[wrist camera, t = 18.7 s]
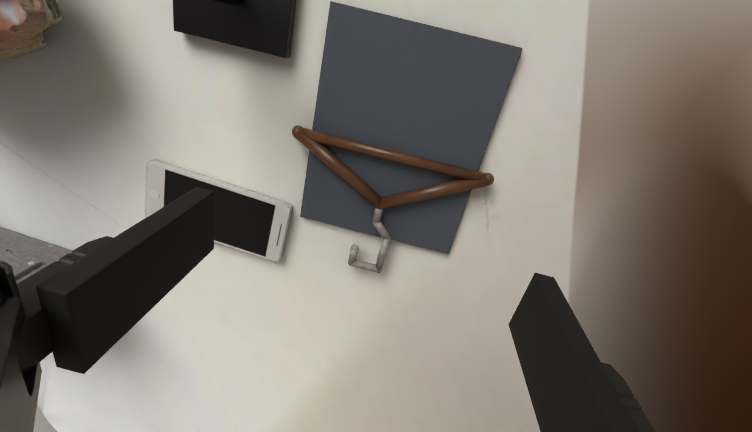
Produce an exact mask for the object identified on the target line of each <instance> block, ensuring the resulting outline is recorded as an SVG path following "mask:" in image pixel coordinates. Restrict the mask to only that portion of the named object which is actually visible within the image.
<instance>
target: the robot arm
mask: <svg viewBox="0 0 752 432" xmlns="http://www.w3.org/2000/svg"><path fill="white" fill-rule="evenodd" d="M214 200H215V191H211V190H207V189H203V188H199V187H195V188H193V189H192V190H190V191H188V192H187V193H185V194H184V195H182V196H180V197H179V198H177V199H176V200H174V201H172V202H171V203H169V204H168V205H166V206H164V207H163V208H161V209H160V210H158V211H156V212H155V213H153V214H151V215H150V216H148V217H147V218H145V219H143V220H142V221H140V222H139V223H137V224H135V225H134V226H132V227H131V228H129V229H127V230H126V231H124V232H123V233H121V234H119V235H118V236H116V237H114V238H112V237H108V236H106V237H103V238H99V239H96V240H93V241H90V242H87V243H85V244H84V245H82V246H80V247H79V248H77V249H75V250H74V251H72V253H71V254H70V253H68V254H67V255H65V256H63V257H62V258H60V259H59V261H55V262H53V263H51V264H50V265H48V266H46V267H45V268H43V269H41V270H39V271H38V272H36V273H34V274H33V275H31V276H29V277H27V278H26V279H24V280H22V281H21V282H19V283H16V279H15V276H14V272H13V269H12V266H11V265H9V264H8V263H6V262H4V261H0V432H33V429H34V421H35V414H36V407H37V400H38V393H39V386H40V379H41V372H42V370H41V366H40V361H41V360H43V359H44V358H45V357H46V356H48V355H49V354H50V353H51V352H52V351H53V355H54V359H55V362H56V366H57V367H59V368H63V369H67V370H71V371H75V372H78V373H82V374H84V373H85V372H86V371H87V370H88V369H90V368H91V367H92V366H93V365H94V364H95V363H96V362H97V361H98V360H99V359H100V358H101V357H102V356H103V355H104V354H105V353H106V352H107V351H108V350H109V349H110V348H111V347H112V346H113V345H114V344H115V343H116V342H117V341H119V340H120V339H121V338H122V337H123V336H124V335H125V334H126V333H127V332H128V331H129V330H130V329H131V328H132V327H133V326H134V325H135V324H136V323H137V322H138V321H139V320H140V319H141V318H142V317H143V316H144V315H145V314H146V313H148V312H149V311H150V310H151V309H152V308H153V307H154V306H155V305H156V304H157V303H158V302H159V301H160V300H161V299H162V298H163V297H164V296H165V295H166V294H167V293H168V292H169V291H170V290H171V289H172V288H173V287H174V286H175V285H177V284H178V283H179V282H180V281H181V280H182V279H183V278H184V277H185V276H186V275H187V274H188V273H189V272H190V271H191V270H192V269H193V268H194V267H195V266H196V265H197V264H198V263H199V262H200V261H201V260H202V259H203V258H204V257H206V256H207V255H208V254H209V253H210V252H211V251H212V250H213V249H214ZM509 327H510V331H511V334H512V337H513V341H514V344H515V347H516V351H517V354H518V357H519V361H520V364H521V367H522V371H523V374H524V377H525V381H526V384H527V388H528V391H529V394H530V398H531V401H532V404H533V408H534V411H535V414H536V418H537V421H538V424H539V428H540V431H541V432H655V430H654V428H653V427H652V425H651V423H650V422H649V420H648V418H647V417H646V415H645V413H644V412H643V411H641V406H640V405H639V403H638V401H637V400H636V398H634V395H633V393H632V391H631V390H630V388H629V386H628V385H627V383H626V381H625V380H624V379H623V378H622V377H621V375H619V374H618V372H617V371H616V370H615V369H614V368H613V367H612V366H611V365H609V364H606V363H602V362H600V360H599V358H598V356H597V355H596V353H595V351H594V349H593V348H592V346H591V344H590V342H589V340H588V338H587V337H586V335H585V333H584V331H583V329H582V327H581V326H580V324H579V322H578V320H577V318H576V317H575V315H574V313H573V311H572V310H571V308H570V306H569V304H568V302H567V300H566V299H565V297H564V295H563V293H562V291H561V289H560V288H559V286H558V284H557V282H556V280H555V279H554V278H553V277H550V276H546V275H542V274H538V273H535V274H534V276H533V278H532V280H531V282H530V284H529V286H528V287H527V289H526V291H525V293H524V295H523V297H522V299H521V301H520V303H519V305H518V307H517V309H516V311H515V313H514V315H513V317H512V319H511V321H510V323H509Z"/></svg>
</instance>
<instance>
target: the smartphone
mask: <svg viewBox="0 0 752 432" xmlns="http://www.w3.org/2000/svg"><path fill="white" fill-rule="evenodd" d="M195 187H199V188H203V189H207V190H211V191H215V200H214V242H216V243H219V244H222V245H225V246H228V247H231V248H234V249H238V250H241V251H244V252H247V253H250V254H253V255H256V256H259V257H262V258H265V259H268V260H271V261H276V262H277V261H279V260H280V258H281V256H282V252H283V247H284V243H285V238H286V234H287V229H288V225H289V220H290V216H291V211H292V206H291V205H290V204H288V203H285V202H282V201H279V200H276V199H273V198H270V197H267V196H264V195H261V194H258V193H255V192H252V191H249V190H246V189H243V188H240V187H237V186H234V185H231V184H228V183H225V182H222V181H219V180H216V179H212V178H209V177H206V176H203V175H200V174H197V173H194V172H191V171H188V170H185V169H182V168H179V167H176V166H173V165H170V164H167V163H164V162H161V161H158V160H152V161H149V162H147V163H146V218H147V217H148V216H150V215H151V214H153V213H155V212H156V211H158V210H160V209H161V208H163V207H164V206H166V205H168V204H169V203H171V202H172V201H174V200H176V199H177V198H179V197H180V196H182V195H184V194H185V193H187V192H188V191H190V190H192V189H193V188H195Z"/></svg>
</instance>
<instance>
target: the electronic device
mask: <svg viewBox="0 0 752 432" xmlns="http://www.w3.org/2000/svg"><path fill="white" fill-rule="evenodd" d="M68 253H70V254H71V253H72V251H71V250H68V249H65V248H62V247H59V246H56V245H53V244H50V243H47V242H44V241H41V240H37V239H34V238H31V237H28V236H25V235H22V234H19V233H16V232H13V231H10V230H7V229H4V228H1V227H0V261H4V262H6V263H8V264H9V265H11V266H12V269H13V272H14V276H15V279H16V283H19V282H21V281H22V280H24V279H26V278H27V277H29V276H31V275H33V274H34V273H36V272H38V271H39V270H41V269H43V268H45V267H46V266H48V265H50V264H51V263H53V262H55V261H59V259H60V258H62V257H63V256H65V255H67V254H68Z"/></svg>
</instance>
